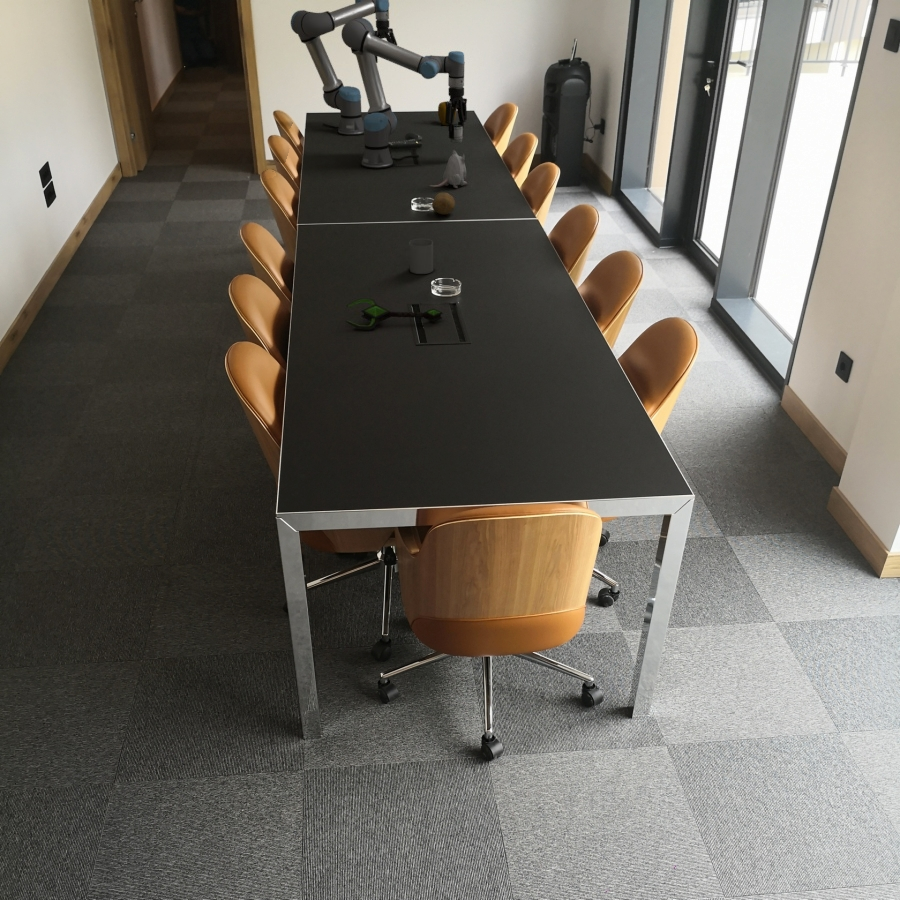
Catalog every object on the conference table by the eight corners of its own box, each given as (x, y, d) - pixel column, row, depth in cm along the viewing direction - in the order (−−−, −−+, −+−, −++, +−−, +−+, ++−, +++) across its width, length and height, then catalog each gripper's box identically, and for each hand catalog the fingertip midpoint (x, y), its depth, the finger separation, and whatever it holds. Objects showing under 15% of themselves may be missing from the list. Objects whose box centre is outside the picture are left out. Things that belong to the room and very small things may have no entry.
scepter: (442, 294, 271) (346, 291, 269) (443, 324, 264) (344, 322, 262) (441, 307, 276) (346, 304, 274) (442, 337, 269) (345, 335, 267)
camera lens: (457, 143, 424) (457, 127, 420) (447, 141, 428) (447, 125, 423) (465, 141, 428) (465, 124, 424) (455, 139, 432) (455, 123, 427)
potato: (453, 208, 369) (453, 189, 365) (456, 218, 357) (456, 199, 353) (431, 208, 368) (430, 189, 364) (432, 218, 356) (432, 199, 352)
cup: (409, 265, 311) (408, 238, 306) (432, 265, 312) (431, 238, 307) (410, 274, 304) (409, 246, 299) (433, 273, 305) (433, 246, 299)
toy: (472, 184, 399) (472, 151, 391) (436, 195, 384) (436, 161, 376) (457, 180, 404) (458, 147, 396) (422, 191, 389) (421, 157, 381)
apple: (456, 126, 498) (456, 103, 491) (437, 126, 498) (437, 102, 492) (456, 122, 508) (456, 99, 501) (438, 122, 508) (438, 99, 501)
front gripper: (449, 90, 406) (449, 141, 419) (475, 85, 418) (474, 134, 431) (437, 88, 410) (437, 139, 423) (463, 83, 423) (462, 132, 435)
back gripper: (371, 22, 472) (373, 64, 484) (402, 18, 488) (403, 59, 500) (361, 21, 476) (363, 63, 488) (393, 17, 492) (394, 57, 504)
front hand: (456, 136), depth 427 cm, fingers closed on camera lens, 6 cm apart
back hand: (383, 61), depth 494 cm, fingers open, 13 cm apart
